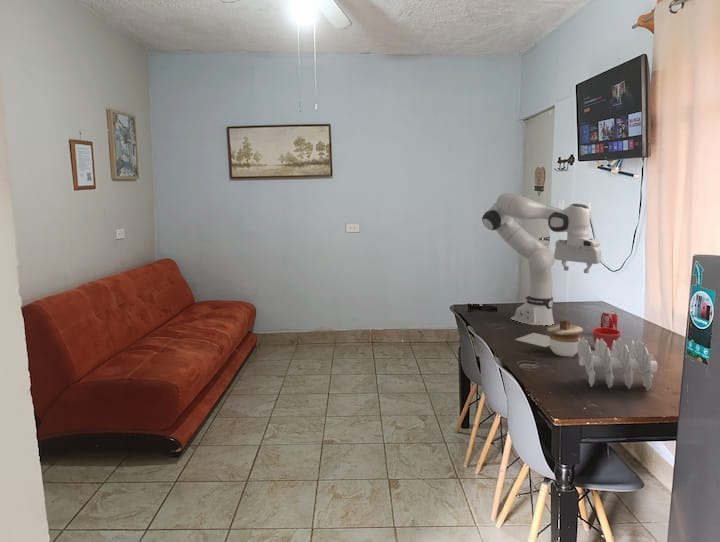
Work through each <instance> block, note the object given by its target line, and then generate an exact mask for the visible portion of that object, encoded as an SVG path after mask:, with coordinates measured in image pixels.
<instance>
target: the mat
mask: <svg viewBox="0 0 720 542" xmlns="http://www.w3.org/2000/svg"><path fill="white" fill-rule="evenodd" d="M549 338H550V337H549V335H545V334H540V333H537V332H532V333H529V334H526V335H523V336H521V337H517V338H515V339H514V340H515V341H518V342H522V343H523V342H524V343H527V344H531V345H534V346H538V347H543V348H547V347H550V342H549Z"/></svg>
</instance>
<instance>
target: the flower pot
mask: <svg viewBox="0 0 720 542" xmlns="http://www.w3.org/2000/svg"><path fill="white" fill-rule="evenodd" d="M621 334H622V332H621V331H620V330H618V329H617V330H616V329H612V328H601V327H595V328H593V329H592V338H593V344H594V345H593V346H595V342H596V339H598V341H599V340H600V339H601V338H603V341H605V343H606V344H607V348H609V350H612V349H611V348H612V344H613V340H615V342H616V341H617V339H618V338H620V339H621Z"/></svg>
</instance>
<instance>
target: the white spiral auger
mask: <svg viewBox="0 0 720 542" xmlns="http://www.w3.org/2000/svg"><path fill="white" fill-rule="evenodd" d="M611 349H612V350H609V348H607V344H606V343H605V341H603V338H601V339H600V340H599V341H598V339H596V342H595V345H594V350H593V349H591V345H589V342H588V340H587V339H585V336H582V337H581V340H580V338H579V339H578V343H577V350H578V352H577V354H578V363H579V364H578V365H579V366H580V367H585V373H586V374H587V375H588V384H589V385H590V387H591V388H592V387H593V386H594V385H595V379H596V372H595V368H603V375H605V384H606V385H607V389H610V388H612V387H613V382H614V377H615V376H614V374H613V370H614V369H615V370H622V371H623V373H622V374H623V378H624V379H623V380H625V381H624V382H625V383H624V384H625V387H627V389H631V387H632V385H633V384H634V382H633V381H634V375H635V372H634V371H636V372H641V380H642V381H643V383H642V385H643V386H642V387H645V388H646V389H645V390H646V391H649V390H650V388H651V387H652V384H653V381H654V376H653V373H657V371H658V362H657V360H655V356H654V355H655V353H651V352H650V353H649V350H648V348H647V346H645V343H644V342H642V341H640V338H637V339H636V340H635V341H634V340H633V339H632V340H631V343H630V346H629V347H628V345H627V344H626V341H624V340H622V339H621V337H620V338H618V339H617V341H616V342H615V340H613V344H612V348H611Z"/></svg>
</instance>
